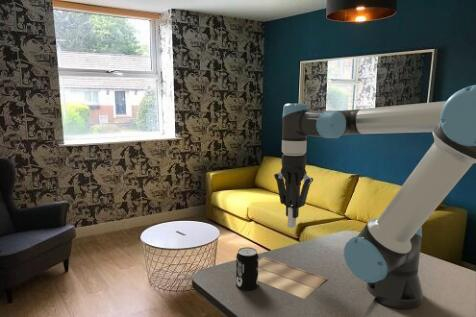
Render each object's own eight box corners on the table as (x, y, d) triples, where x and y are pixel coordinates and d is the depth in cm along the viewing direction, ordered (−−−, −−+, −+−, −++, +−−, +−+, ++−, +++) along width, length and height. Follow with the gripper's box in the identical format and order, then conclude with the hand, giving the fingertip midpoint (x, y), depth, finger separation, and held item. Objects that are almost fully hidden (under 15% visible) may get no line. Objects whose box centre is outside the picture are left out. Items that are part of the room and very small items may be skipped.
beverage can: (256, 295, 104) (256, 256, 102) (234, 293, 105) (234, 254, 104) (259, 284, 111) (260, 247, 109) (238, 282, 112) (238, 245, 110)
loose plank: (326, 282, 112) (326, 278, 111) (316, 292, 106) (316, 288, 106) (263, 260, 127) (263, 256, 126) (251, 268, 121) (251, 264, 121)
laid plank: (316, 292, 106) (316, 288, 106) (304, 302, 101) (304, 299, 100) (251, 268, 121) (251, 264, 121) (237, 276, 116) (237, 272, 115)
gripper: (318, 154, 110) (315, 228, 114) (282, 150, 118) (280, 219, 122) (306, 157, 104) (304, 234, 108) (269, 153, 112) (268, 225, 116)
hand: (291, 226), depth 115 cm, fingers closed
